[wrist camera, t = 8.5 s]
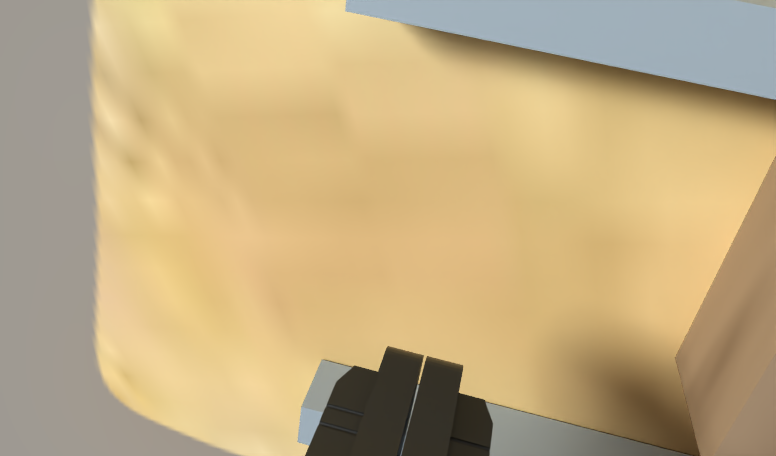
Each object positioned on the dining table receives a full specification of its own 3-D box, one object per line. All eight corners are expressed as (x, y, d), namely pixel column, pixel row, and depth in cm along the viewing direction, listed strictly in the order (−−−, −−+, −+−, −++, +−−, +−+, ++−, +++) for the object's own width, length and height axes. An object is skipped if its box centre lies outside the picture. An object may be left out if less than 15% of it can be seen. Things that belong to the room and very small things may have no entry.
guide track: (1406, 112, 12) (1896, 264, 7) (942, 559, 19) (1055, 763, 15) (378, -84, 14) (302, -51, 9) (317, 393, 21) (260, 533, 17)
